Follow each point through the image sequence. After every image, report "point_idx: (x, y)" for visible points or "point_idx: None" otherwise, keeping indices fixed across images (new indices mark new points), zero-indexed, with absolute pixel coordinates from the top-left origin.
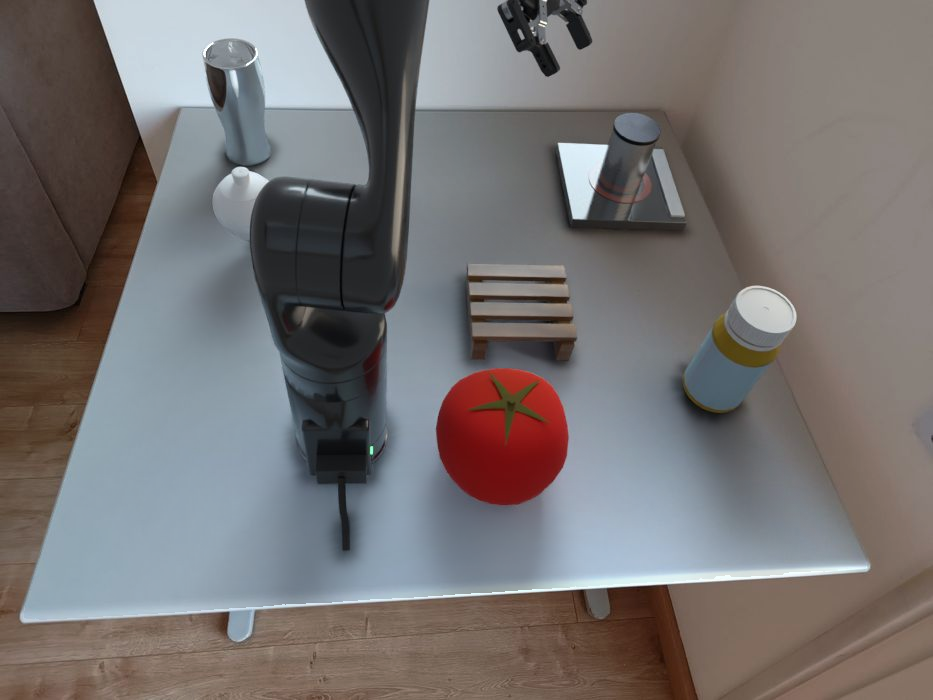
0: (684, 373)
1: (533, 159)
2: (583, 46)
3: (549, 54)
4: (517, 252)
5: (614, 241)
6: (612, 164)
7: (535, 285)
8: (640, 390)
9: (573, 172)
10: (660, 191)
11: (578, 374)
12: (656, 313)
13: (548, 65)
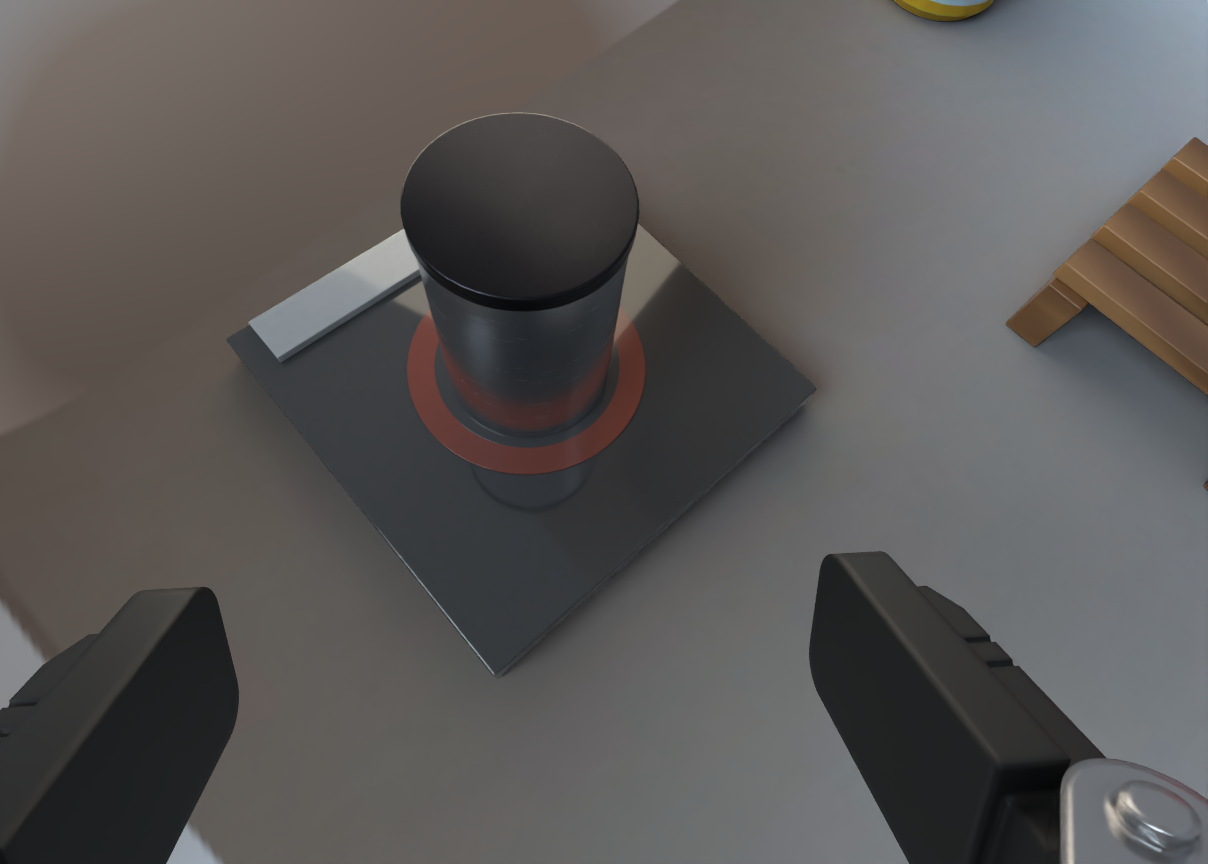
0: (964, 12)
1: (614, 718)
2: (220, 661)
3: (977, 660)
4: (1023, 467)
5: (743, 283)
6: (616, 323)
7: (1193, 283)
8: (1052, 69)
9: (613, 513)
10: None
11: (1142, 166)
12: (861, 116)
13: (973, 622)
